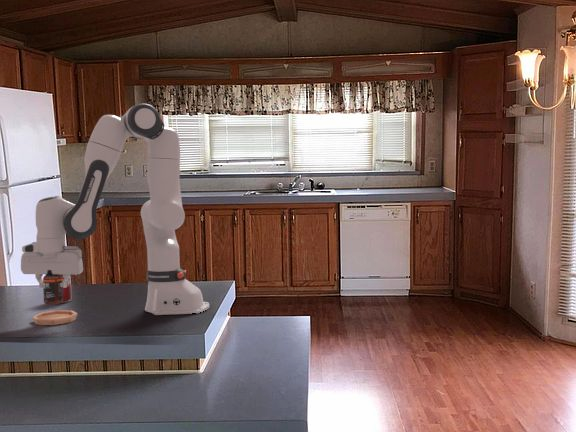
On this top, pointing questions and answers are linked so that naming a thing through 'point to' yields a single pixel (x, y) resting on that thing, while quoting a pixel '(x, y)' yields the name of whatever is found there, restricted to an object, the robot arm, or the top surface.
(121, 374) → the top surface
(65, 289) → the soda can
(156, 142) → the robot arm
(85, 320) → the top surface
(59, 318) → the dish
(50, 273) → the supplement bottle
